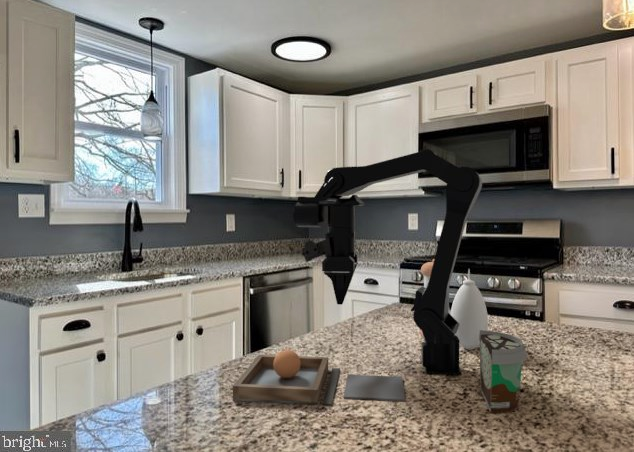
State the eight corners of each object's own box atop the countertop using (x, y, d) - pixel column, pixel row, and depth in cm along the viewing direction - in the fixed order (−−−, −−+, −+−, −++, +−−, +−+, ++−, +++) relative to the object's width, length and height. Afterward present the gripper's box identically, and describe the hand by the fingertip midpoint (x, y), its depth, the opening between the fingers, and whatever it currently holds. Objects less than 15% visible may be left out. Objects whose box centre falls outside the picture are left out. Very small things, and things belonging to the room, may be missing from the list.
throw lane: (400, 372, 84) (400, 360, 84) (406, 409, 68) (406, 394, 68) (258, 366, 87) (258, 354, 87) (232, 400, 72) (232, 385, 71)
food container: (536, 420, 64) (537, 353, 64) (492, 417, 65) (492, 350, 65) (516, 387, 76) (516, 330, 76) (478, 385, 77) (479, 329, 77)
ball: (300, 383, 80) (303, 358, 84) (296, 370, 77) (300, 345, 80) (273, 382, 81) (277, 357, 84) (269, 369, 77) (273, 344, 81)
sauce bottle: (476, 356, 93) (476, 272, 92) (443, 348, 99) (443, 268, 98) (493, 348, 98) (494, 268, 97) (462, 341, 104) (462, 266, 103)
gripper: (310, 226, 104) (311, 291, 104) (296, 229, 85) (296, 308, 86) (357, 226, 102) (357, 292, 103) (353, 228, 84) (353, 309, 84)
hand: (341, 299), depth 94 cm, fingers open, 9 cm apart
